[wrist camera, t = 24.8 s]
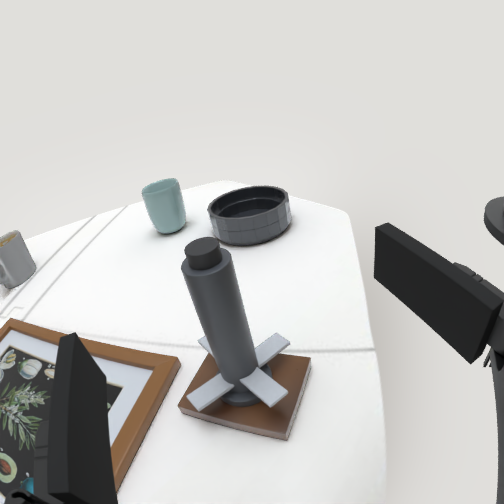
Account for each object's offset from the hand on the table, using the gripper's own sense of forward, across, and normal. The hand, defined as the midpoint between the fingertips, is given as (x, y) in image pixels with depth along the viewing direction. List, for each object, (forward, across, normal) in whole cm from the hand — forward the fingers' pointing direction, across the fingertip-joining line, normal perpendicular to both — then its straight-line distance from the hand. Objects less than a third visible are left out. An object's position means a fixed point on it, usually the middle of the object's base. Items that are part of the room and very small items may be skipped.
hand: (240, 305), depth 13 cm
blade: (+10, 0, -18) cm, 20 cm away
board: (+10, 0, -19) cm, 22 cm away
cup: (+54, -2, -20) cm, 58 cm away
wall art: (+14, -30, -19) cm, 39 cm away
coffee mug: (+57, -43, -19) cm, 74 cm away
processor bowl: (+44, +12, -19) cm, 49 cm away
